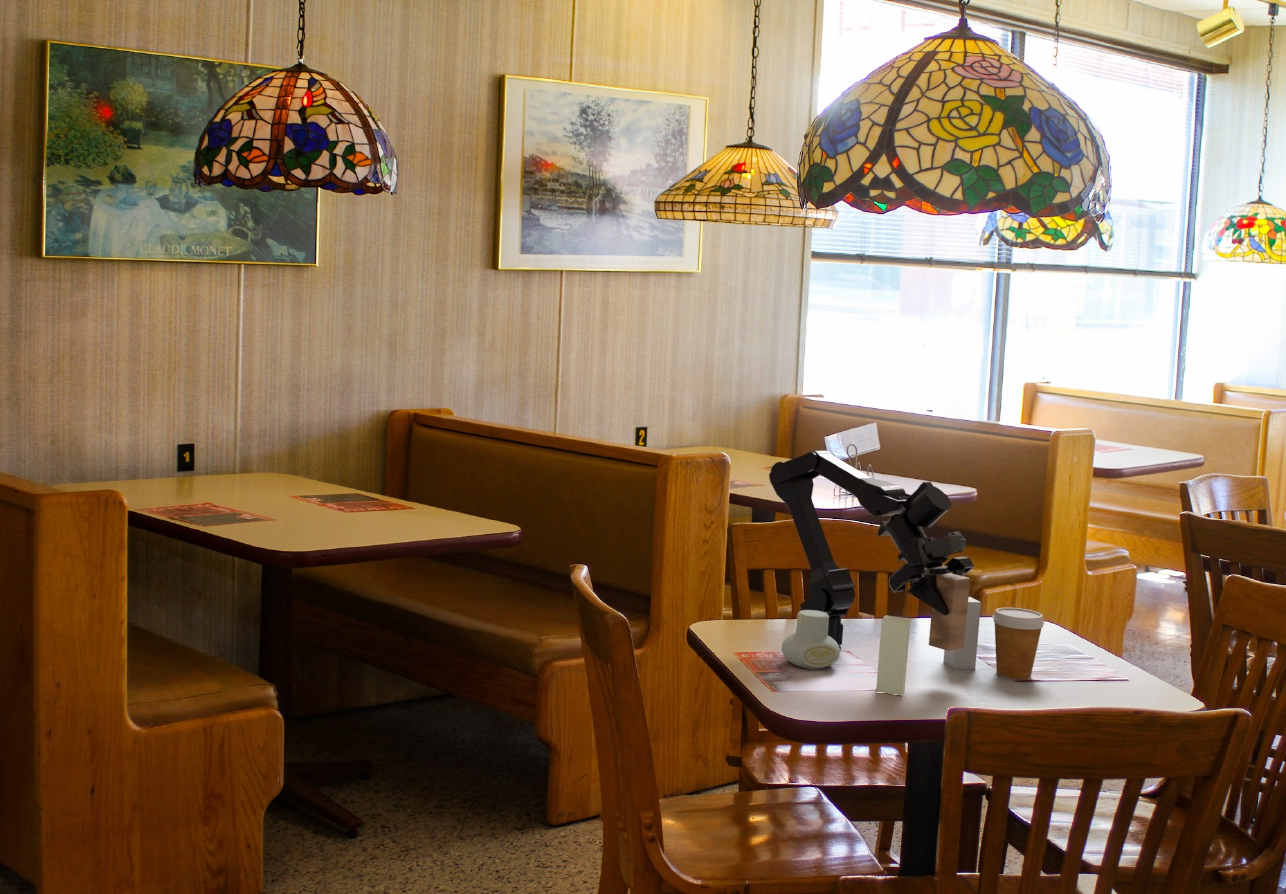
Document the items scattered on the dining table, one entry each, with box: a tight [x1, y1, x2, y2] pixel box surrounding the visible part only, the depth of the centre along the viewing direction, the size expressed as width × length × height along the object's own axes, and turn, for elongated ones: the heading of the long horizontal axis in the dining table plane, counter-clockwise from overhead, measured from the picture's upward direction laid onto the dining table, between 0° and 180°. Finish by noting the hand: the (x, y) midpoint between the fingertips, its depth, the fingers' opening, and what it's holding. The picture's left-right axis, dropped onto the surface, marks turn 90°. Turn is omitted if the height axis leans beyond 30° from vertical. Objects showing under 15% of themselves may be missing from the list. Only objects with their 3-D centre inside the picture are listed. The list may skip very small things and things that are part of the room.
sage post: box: [875, 615, 911, 697], centre depth 224 cm, size 4×4×13 cm
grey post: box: [942, 596, 982, 670], centre depth 244 cm, size 4×4×13 cm
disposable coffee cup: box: [991, 607, 1046, 680], centre depth 240 cm, size 10×10×12 cm
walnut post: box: [928, 573, 971, 651], centre depth 230 cm, size 4×4×13 cm
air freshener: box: [781, 610, 841, 670], centre depth 238 cm, size 11×8×10 cm
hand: (955, 612), depth 229 cm, fingers closed on walnut post, 4 cm apart
